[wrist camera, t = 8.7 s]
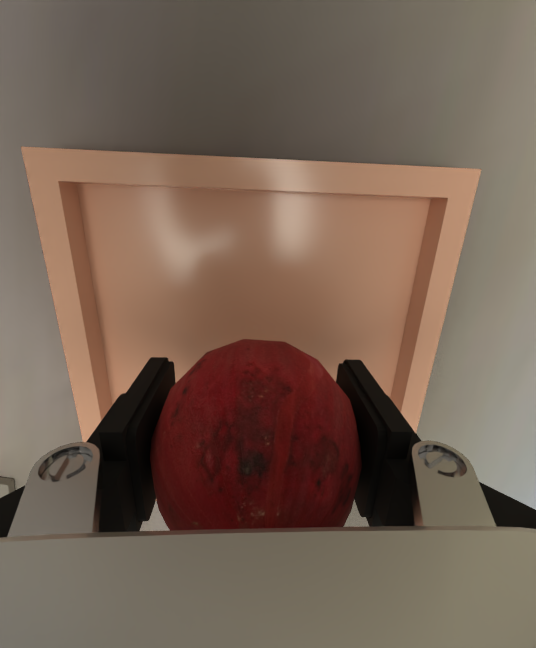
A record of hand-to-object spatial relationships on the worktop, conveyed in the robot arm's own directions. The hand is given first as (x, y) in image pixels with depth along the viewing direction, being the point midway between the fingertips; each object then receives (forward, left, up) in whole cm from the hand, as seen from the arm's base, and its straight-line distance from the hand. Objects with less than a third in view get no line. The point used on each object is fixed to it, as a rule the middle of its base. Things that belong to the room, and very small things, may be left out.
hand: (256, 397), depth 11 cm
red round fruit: (0, 0, -2) cm, 2 cm away
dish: (0, 0, -5) cm, 5 cm away
